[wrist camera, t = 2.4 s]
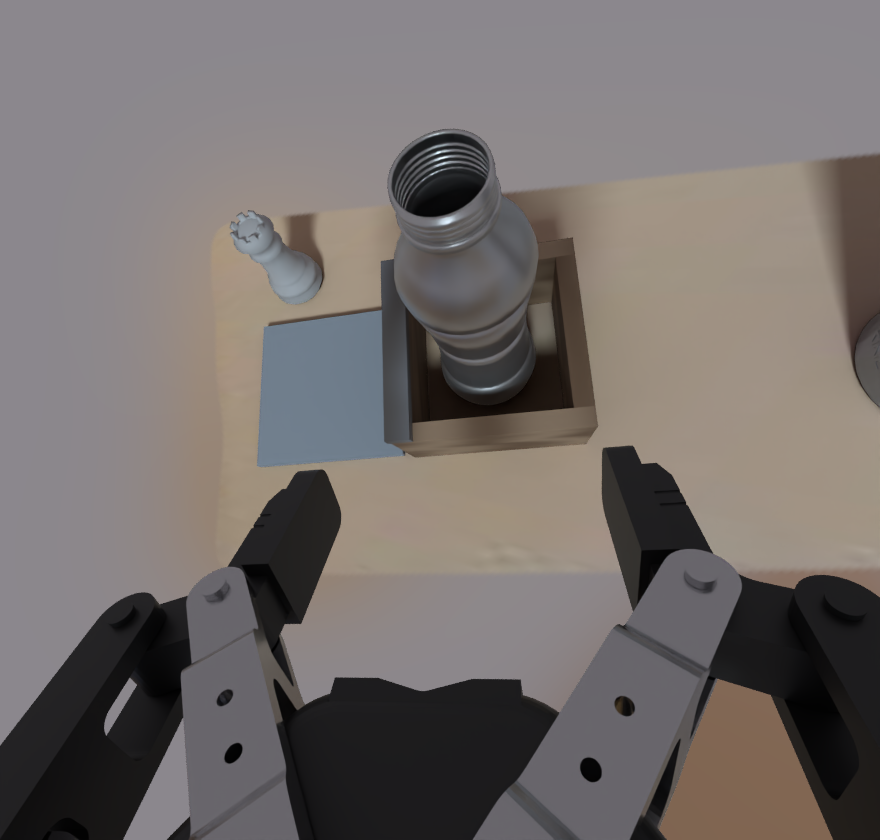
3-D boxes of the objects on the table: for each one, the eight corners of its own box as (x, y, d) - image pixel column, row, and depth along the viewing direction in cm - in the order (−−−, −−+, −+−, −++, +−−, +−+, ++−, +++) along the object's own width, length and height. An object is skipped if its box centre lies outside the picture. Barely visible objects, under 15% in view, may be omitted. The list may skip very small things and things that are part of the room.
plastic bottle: (433, 360, 35) (314, 166, 16) (507, 314, 35) (476, 59, 16) (474, 428, 33) (396, 300, 14) (553, 381, 33) (582, 183, 14)
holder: (566, 285, 34) (573, 229, 28) (585, 443, 31) (600, 422, 25) (407, 307, 37) (380, 261, 30) (412, 457, 34) (384, 441, 27)
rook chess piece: (292, 255, 40) (236, 191, 33) (333, 269, 39) (284, 207, 31) (269, 297, 40) (206, 244, 32) (310, 313, 38) (254, 261, 31)
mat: (400, 311, 37) (398, 307, 36) (404, 455, 34) (402, 454, 33) (267, 329, 39) (264, 326, 38) (261, 467, 36) (257, 466, 35)
